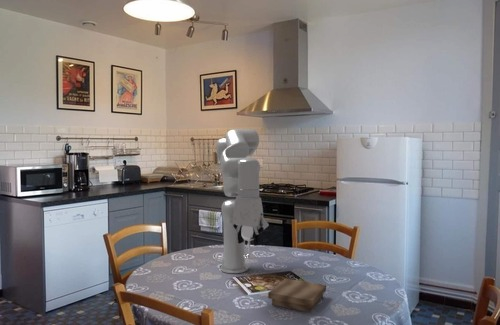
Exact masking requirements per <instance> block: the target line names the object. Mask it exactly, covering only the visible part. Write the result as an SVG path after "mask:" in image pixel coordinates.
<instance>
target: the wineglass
mask: <svg viewBox="0 0 500 325" xmlns="http://www.w3.org/2000/svg"><path fill="white" fill-rule="evenodd" d="M254 234H255V231H254V228H253V227H248V226H242V227H241V237H242V238H243V239H244V240H245V242H246V241H247V244H246V245H247V249H248V250H247V253H245V255H243V257H244V258H245V259H252V258H255V257H256V255H255V254H252V253H251V252H250V246H251V241H254Z"/></svg>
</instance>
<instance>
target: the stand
mask: <svg viewBox="0 0 500 325" xmlns="http://www.w3.org/2000/svg"><path fill="white" fill-rule="evenodd" d="M326 291H327V285H326V284H321V283H316V282H309V281H303V280H297V279H293V278H292V279H291V278H284V279H283V280H282V281H281V282H280V283H278V284H277V285H275V286H273V288H272V289H271V290H270V291H268V292H267V294H268V296H267V299H269V300H270V299H271V305H272V306H276V307H278V306H279V307H281V308H282V307H283V308H288V309H293V310H297V311H302V312H308V313H312V311H313V310H314V309H315V307H316V306H317V305H318V304H319V303H320V301H322V299H323V296H324V294H325V292H326Z"/></svg>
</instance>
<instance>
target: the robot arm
mask: <svg viewBox="0 0 500 325" xmlns="http://www.w3.org/2000/svg"><path fill="white" fill-rule="evenodd" d="M215 145H216V146H215V149H216V155H217V158H218V161H219V164H220V168H221V172H222V173H221V174H222V184H223V185H222V186H223V187H222V188H223V194H224V195H225V196H226V197H229V198H233V199H227V200H224V201H223V202H222V204H221V216H222V223H223V224H222V225H223V257H218V258H217V260H216V263H217V264H221V266H220V271H221V272H223V273H227V274H241V273H245V272H247V271H248V270H249V265H248V264H247V263H246V258H244V257H243V255H245V254H246V240H244V239H243V238H242V237H241V227H242V226H248V227H253V228H254V231H255V234H254V240H253V245H254V246H255V247H256V246H258V245H260V243H261V234H262V232H263V231H264V230H265V229H266V228H268V227H269V223H268V221H267V220H266V219H265V217H264V208H263V207H264V206H263V203H262V202H263V201H262V198H261V197H260V172H261V164H260V161H259V160H258V159H257V158H255V157H251V156H252V155H254V154H255V152H256V151H257V149H258V147H259V145H260V135H259V134H258V132H257V131H256V130H255V129H252V128H250V129H249V128H243V129H242V128H238V129H237V128H235V129H230V130H228V131H227V132H226V135H225V137H223V138H220V139H218V140H217V141H216V144H215ZM248 156H250V157H248Z"/></svg>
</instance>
